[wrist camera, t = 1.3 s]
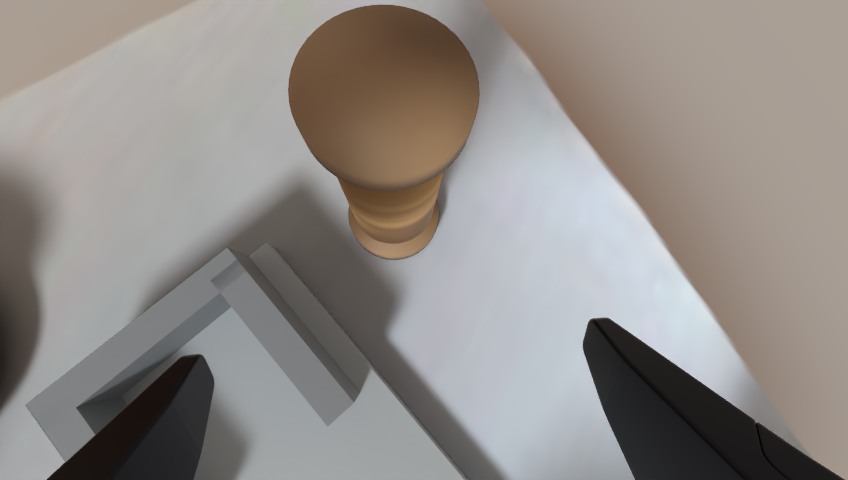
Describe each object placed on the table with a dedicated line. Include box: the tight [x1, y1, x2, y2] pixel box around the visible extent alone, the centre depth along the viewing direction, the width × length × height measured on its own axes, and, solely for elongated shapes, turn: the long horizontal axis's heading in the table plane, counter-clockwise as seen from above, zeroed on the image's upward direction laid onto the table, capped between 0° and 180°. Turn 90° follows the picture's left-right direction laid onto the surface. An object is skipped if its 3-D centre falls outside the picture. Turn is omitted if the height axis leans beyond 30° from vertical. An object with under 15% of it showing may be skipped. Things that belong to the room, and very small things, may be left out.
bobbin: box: [288, 5, 479, 260], centre depth 17 cm, size 5×5×13 cm
